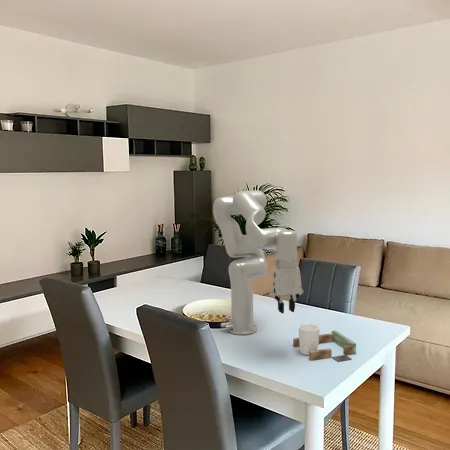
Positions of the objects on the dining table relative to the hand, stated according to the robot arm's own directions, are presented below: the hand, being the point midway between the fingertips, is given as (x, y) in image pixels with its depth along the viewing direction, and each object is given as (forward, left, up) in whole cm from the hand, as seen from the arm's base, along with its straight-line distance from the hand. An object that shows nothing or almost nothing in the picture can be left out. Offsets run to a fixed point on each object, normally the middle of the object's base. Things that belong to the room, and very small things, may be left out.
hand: (286, 311), depth 173 cm
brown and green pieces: (+15, 0, -17) cm, 23 cm away
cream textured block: (+9, 0, -17) cm, 20 cm away
